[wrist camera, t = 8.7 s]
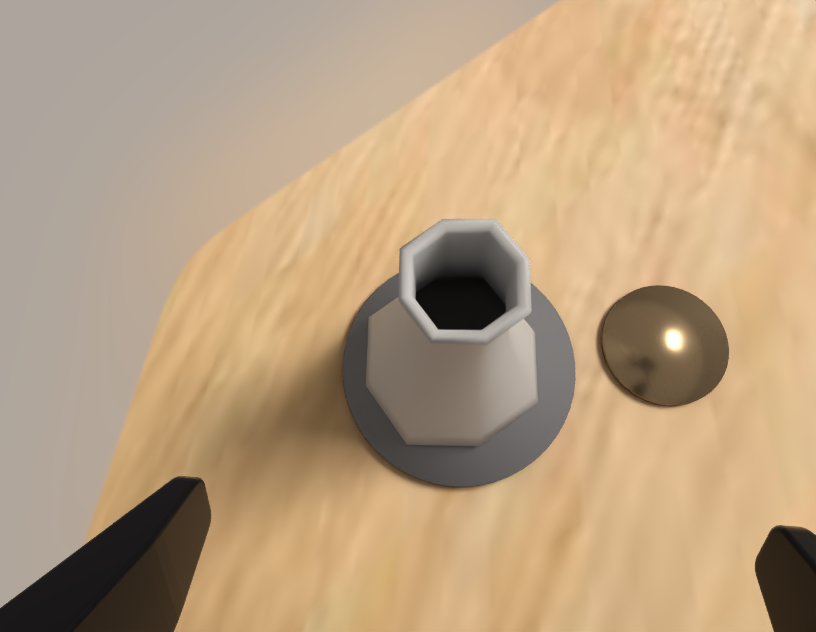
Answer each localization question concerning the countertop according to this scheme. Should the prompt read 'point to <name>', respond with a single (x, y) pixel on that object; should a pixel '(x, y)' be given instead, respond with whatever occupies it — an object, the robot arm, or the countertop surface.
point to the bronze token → (665, 345)
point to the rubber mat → (503, 449)
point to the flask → (455, 337)
